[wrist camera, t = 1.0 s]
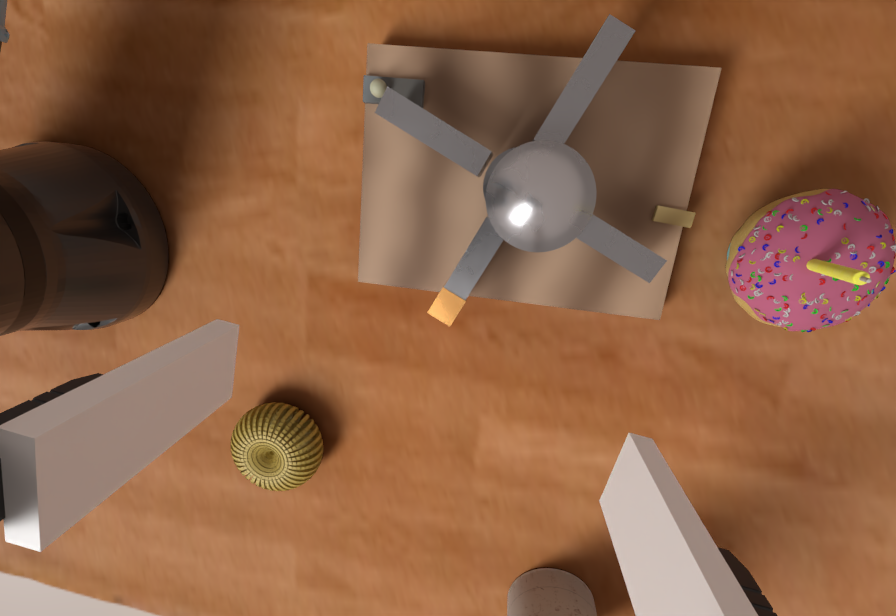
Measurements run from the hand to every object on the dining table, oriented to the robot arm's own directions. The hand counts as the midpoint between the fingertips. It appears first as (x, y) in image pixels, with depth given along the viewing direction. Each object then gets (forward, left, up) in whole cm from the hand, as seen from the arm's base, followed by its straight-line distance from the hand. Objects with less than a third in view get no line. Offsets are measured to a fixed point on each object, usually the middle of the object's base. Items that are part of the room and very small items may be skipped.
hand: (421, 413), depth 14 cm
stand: (-1, +8, -20) cm, 22 cm away
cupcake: (+16, +13, -21) cm, 29 cm away
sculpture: (-7, -21, -21) cm, 30 cm away
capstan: (-1, +8, -18) cm, 20 cm away
